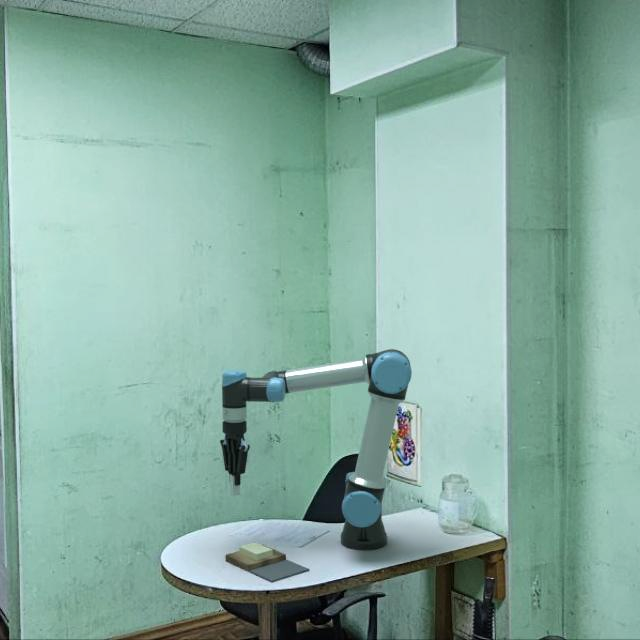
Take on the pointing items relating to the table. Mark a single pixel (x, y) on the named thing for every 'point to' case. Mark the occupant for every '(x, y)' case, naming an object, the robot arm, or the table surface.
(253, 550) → the tile
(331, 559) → the table surface
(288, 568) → the mat
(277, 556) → the wooden board
